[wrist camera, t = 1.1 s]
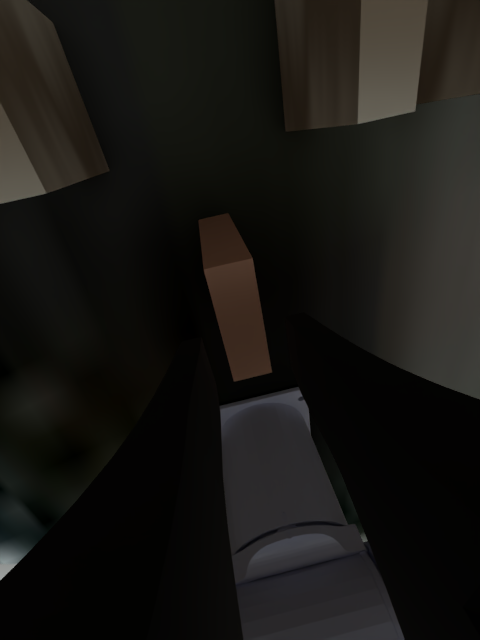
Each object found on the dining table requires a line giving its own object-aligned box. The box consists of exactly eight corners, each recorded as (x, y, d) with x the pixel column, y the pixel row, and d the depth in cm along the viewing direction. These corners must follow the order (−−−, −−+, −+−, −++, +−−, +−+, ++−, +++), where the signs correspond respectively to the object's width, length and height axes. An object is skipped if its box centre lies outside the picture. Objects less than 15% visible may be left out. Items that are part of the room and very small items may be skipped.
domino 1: (109, 170, 13) (46, 193, 8) (75, 178, 13) (-15, 207, 8) (53, 22, 11) (-114, -123, 5) (9, 31, 11) (-210, -103, 5)
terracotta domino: (244, 296, 18) (271, 372, 12) (219, 302, 18) (234, 381, 12) (228, 213, 15) (252, 258, 9) (198, 219, 15) (203, 269, 9)
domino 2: (318, 124, 14) (414, 111, 8) (285, 131, 14) (357, 124, 8) (313, -32, 11) (454, -231, 5) (272, -24, 11) (367, -216, 5)
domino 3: (420, 102, 14) (591, 71, 8) (387, 109, 14) (535, 84, 8) (439, -58, 11) (719, -284, 5) (399, -50, 11) (636, -268, 5)
